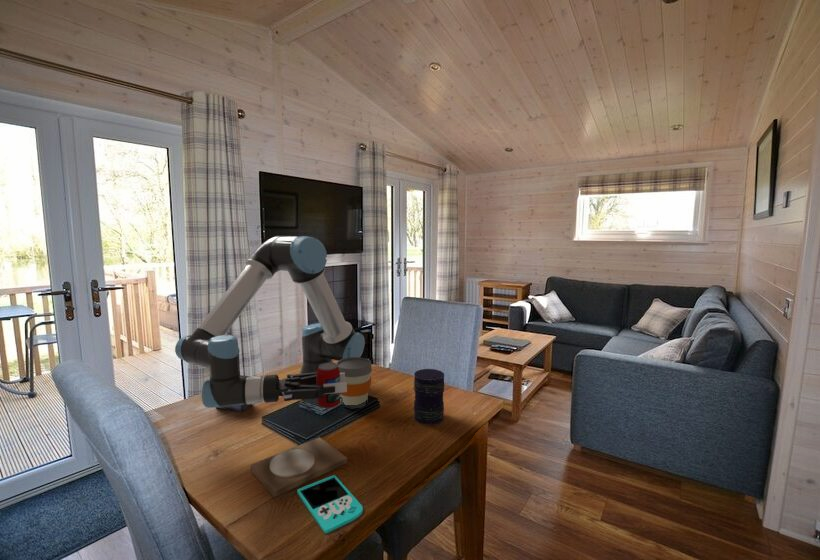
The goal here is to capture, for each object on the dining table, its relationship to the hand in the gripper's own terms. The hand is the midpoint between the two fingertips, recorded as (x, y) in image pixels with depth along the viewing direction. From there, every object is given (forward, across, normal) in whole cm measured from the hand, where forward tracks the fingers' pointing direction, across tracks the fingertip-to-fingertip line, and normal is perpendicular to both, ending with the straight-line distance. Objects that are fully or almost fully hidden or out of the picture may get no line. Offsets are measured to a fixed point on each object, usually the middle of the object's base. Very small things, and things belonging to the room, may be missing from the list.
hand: (345, 381), depth 117 cm
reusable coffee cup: (+4, -20, -17) cm, 27 cm away
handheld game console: (-6, +30, -17) cm, 35 cm away
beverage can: (-5, 0, -7) cm, 8 cm away
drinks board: (-13, +14, -16) cm, 25 cm away
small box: (-37, -27, -17) cm, 48 cm away
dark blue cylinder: (+27, -4, -17) cm, 32 cm away
